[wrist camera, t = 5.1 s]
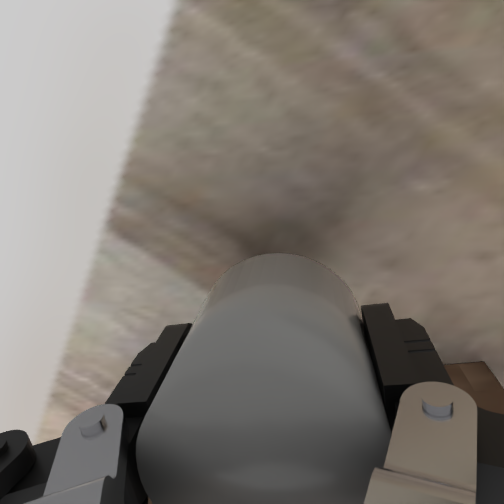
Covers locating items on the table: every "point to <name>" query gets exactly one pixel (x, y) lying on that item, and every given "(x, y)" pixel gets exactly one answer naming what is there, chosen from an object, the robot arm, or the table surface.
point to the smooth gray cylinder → (268, 395)
